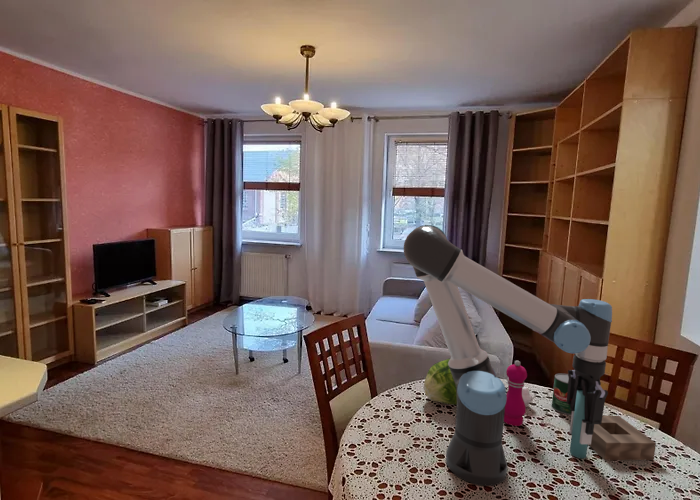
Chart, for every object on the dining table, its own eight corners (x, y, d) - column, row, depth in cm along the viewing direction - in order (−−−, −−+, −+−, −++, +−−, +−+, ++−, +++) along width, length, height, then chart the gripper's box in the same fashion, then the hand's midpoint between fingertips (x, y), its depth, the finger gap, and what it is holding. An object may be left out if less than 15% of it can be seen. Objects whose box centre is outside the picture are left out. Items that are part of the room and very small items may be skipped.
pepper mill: (526, 428, 121) (533, 366, 119) (502, 425, 122) (507, 363, 120) (521, 416, 128) (527, 357, 126) (498, 413, 129) (503, 355, 127)
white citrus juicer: (514, 399, 140) (516, 380, 139) (533, 404, 136) (534, 385, 135) (510, 405, 135) (511, 386, 134) (529, 411, 131) (531, 392, 130)
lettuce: (418, 397, 143) (411, 363, 138) (468, 376, 148) (463, 342, 143) (440, 427, 129) (433, 391, 123) (495, 403, 133) (490, 366, 128)
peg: (575, 458, 107) (582, 395, 105) (566, 449, 111) (573, 388, 109) (589, 458, 107) (597, 396, 105) (580, 449, 111) (587, 389, 109)
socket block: (604, 459, 107) (606, 442, 107) (573, 430, 121) (575, 415, 120) (653, 460, 108) (656, 443, 107) (617, 431, 122) (619, 415, 121)
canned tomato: (553, 411, 132) (556, 380, 131) (550, 401, 139) (553, 371, 138) (579, 417, 129) (583, 385, 128) (575, 406, 136) (578, 375, 135)
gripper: (626, 370, 97) (614, 458, 100) (583, 346, 114) (574, 421, 117) (597, 370, 97) (586, 457, 100) (558, 345, 114) (549, 421, 117)
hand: (579, 438), depth 108 cm, fingers closed on peg, 4 cm apart
